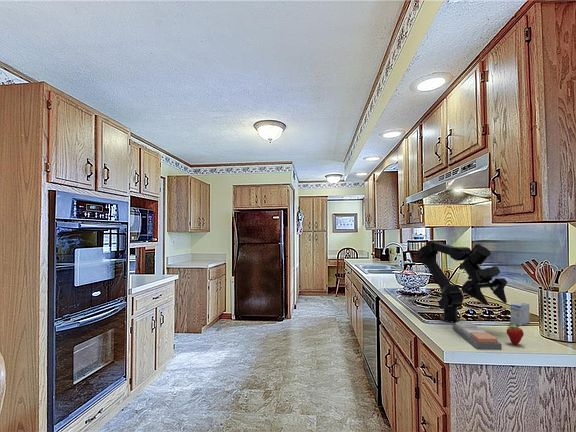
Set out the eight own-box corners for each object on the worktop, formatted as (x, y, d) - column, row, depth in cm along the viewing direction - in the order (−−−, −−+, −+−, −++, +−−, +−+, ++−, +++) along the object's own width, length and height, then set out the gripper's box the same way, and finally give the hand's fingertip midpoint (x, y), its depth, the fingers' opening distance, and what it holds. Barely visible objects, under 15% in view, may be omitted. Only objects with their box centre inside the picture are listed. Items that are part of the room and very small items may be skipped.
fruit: (507, 341, 135) (507, 319, 135) (524, 344, 132) (524, 322, 132) (505, 344, 131) (505, 323, 131) (522, 347, 128) (522, 325, 128)
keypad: (453, 329, 150) (452, 322, 150) (473, 330, 149) (473, 322, 149) (477, 349, 127) (476, 340, 127) (501, 349, 126) (501, 340, 126)
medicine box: (518, 320, 162) (518, 301, 162) (529, 323, 158) (529, 303, 158) (510, 323, 157) (509, 304, 157) (521, 326, 154) (521, 306, 154)
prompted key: (471, 338, 134) (471, 332, 134) (488, 338, 134) (488, 333, 134) (478, 344, 128) (478, 338, 128) (497, 344, 127) (497, 338, 127)
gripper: (466, 260, 142) (489, 293, 131) (503, 258, 147) (528, 290, 136) (452, 277, 149) (472, 309, 139) (488, 274, 154) (510, 306, 144)
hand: (496, 303), depth 139 cm, fingers open, 9 cm apart
